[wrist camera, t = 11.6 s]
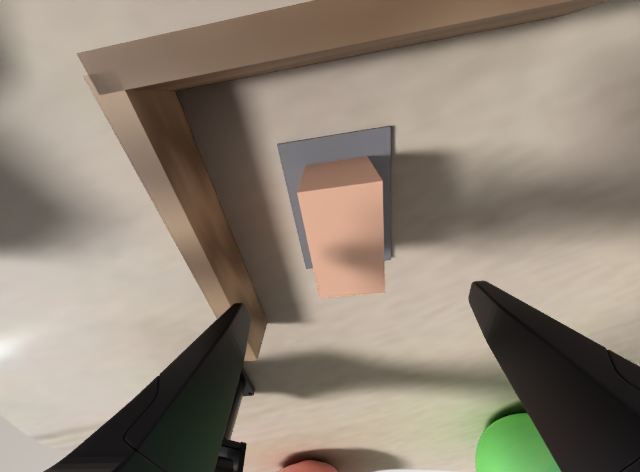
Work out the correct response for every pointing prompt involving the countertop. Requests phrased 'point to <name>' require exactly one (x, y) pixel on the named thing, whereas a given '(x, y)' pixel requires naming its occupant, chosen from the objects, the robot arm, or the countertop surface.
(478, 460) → the toy bird
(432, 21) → the wooden corner wall
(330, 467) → the cell model
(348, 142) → the mat
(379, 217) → the block
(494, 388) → the countertop surface
